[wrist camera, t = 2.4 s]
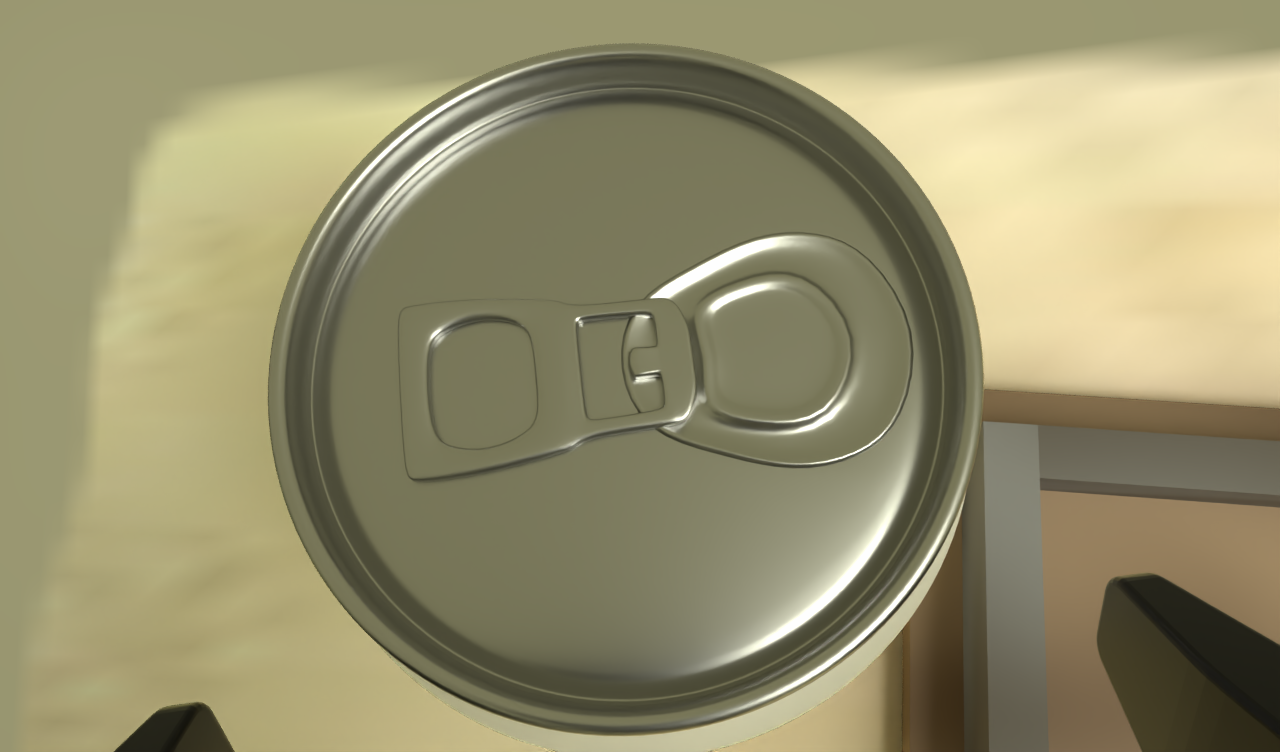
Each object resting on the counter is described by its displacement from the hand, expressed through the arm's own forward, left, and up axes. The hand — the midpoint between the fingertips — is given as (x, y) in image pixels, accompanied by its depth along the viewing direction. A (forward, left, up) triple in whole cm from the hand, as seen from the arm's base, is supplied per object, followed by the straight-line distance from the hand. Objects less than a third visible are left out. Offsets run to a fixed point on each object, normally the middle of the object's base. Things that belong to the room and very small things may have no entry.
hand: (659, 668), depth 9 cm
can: (+3, 0, -9) cm, 10 cm away
